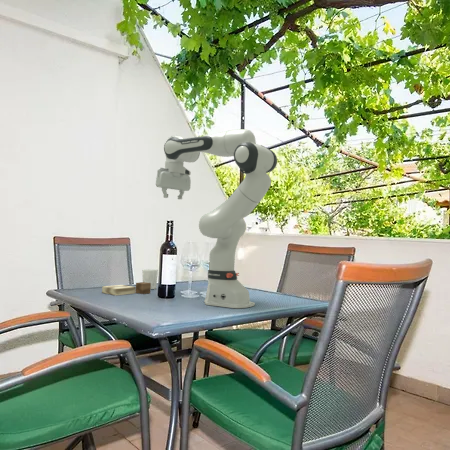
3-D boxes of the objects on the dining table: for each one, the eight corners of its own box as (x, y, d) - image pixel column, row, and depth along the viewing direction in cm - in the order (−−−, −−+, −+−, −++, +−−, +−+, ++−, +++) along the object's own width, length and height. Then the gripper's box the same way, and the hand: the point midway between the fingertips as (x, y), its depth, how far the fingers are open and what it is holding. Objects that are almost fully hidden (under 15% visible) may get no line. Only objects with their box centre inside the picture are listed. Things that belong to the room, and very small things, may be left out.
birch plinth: (135, 293, 203) (135, 286, 203) (116, 295, 194) (116, 288, 194) (120, 290, 210) (121, 284, 210) (102, 292, 201) (102, 286, 201)
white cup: (139, 289, 217) (139, 269, 217) (146, 287, 224) (146, 268, 225) (152, 290, 215) (153, 270, 215) (159, 288, 222) (160, 269, 222)
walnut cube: (150, 293, 205) (150, 283, 205) (142, 294, 201) (142, 283, 201) (143, 292, 208) (143, 282, 208) (135, 293, 204) (135, 282, 204)
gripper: (162, 166, 195) (161, 196, 194) (193, 172, 210) (192, 200, 210) (153, 167, 198) (152, 196, 198) (183, 173, 214) (182, 200, 214)
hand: (172, 198), depth 204 cm, fingers open, 8 cm apart
